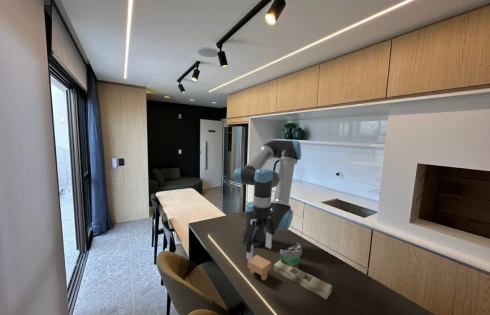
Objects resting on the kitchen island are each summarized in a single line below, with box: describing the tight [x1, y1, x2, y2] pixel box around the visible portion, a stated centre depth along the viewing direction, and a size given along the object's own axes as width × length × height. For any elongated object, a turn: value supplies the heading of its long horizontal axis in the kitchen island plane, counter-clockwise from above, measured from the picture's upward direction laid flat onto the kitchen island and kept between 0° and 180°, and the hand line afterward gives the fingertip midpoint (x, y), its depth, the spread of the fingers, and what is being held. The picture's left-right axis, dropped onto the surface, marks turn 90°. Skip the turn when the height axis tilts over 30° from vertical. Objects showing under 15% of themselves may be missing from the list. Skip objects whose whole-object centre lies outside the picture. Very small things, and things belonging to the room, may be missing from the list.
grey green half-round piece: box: [279, 242, 303, 269], centre depth 95 cm, size 12×6×10 cm, turn 123°
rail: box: [273, 259, 333, 300], centre depth 86 cm, size 24×5×3 cm, turn 48°
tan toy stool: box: [247, 254, 272, 282], centre depth 89 cm, size 8×6×6 cm
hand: (259, 253), depth 88 cm, fingers open, 13 cm apart
